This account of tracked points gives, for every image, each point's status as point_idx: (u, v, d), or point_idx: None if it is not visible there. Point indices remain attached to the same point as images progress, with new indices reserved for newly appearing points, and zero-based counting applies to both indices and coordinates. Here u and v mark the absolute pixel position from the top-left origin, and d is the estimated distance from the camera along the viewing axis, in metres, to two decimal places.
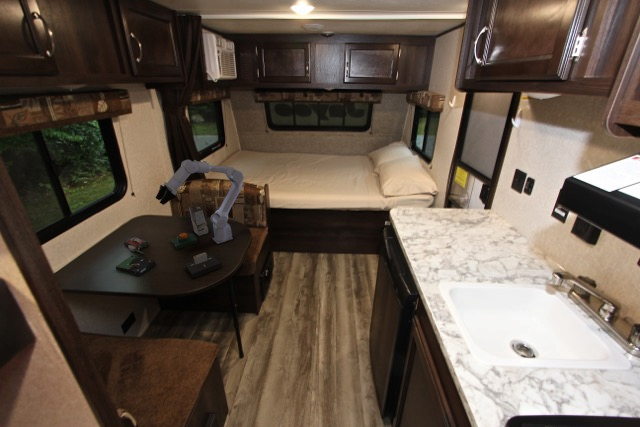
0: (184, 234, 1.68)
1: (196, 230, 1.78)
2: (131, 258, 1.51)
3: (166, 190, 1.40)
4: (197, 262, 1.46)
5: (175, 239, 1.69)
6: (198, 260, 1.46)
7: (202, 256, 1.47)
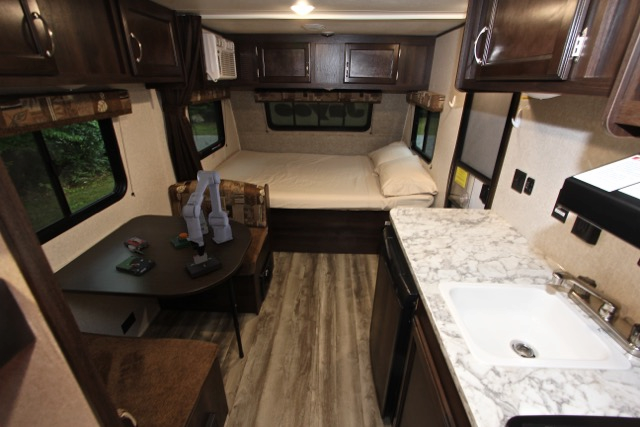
0: (184, 234, 1.68)
1: None
2: (131, 258, 1.51)
3: (194, 246, 1.38)
4: (197, 262, 1.46)
5: (175, 239, 1.69)
6: (198, 260, 1.46)
7: (202, 256, 1.47)
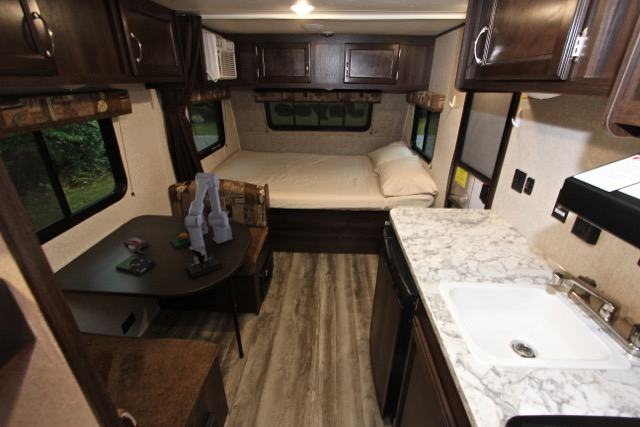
0: (184, 234, 1.68)
1: None
2: (131, 258, 1.51)
3: None
4: (197, 262, 1.46)
5: (175, 239, 1.69)
6: (198, 260, 1.46)
7: None
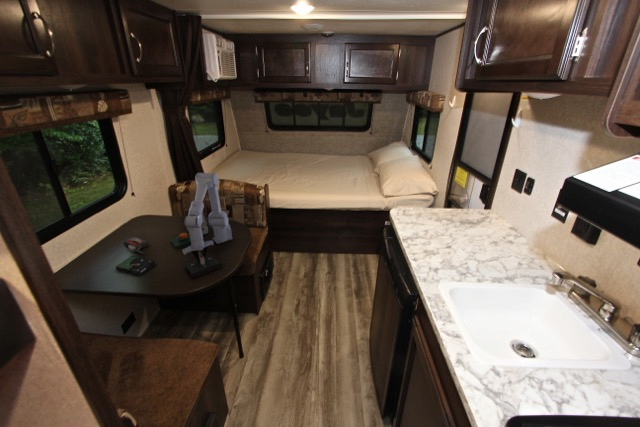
0: (184, 234, 1.68)
1: None
2: (131, 258, 1.51)
3: (205, 250, 1.45)
4: None
5: (175, 239, 1.69)
6: None
7: None
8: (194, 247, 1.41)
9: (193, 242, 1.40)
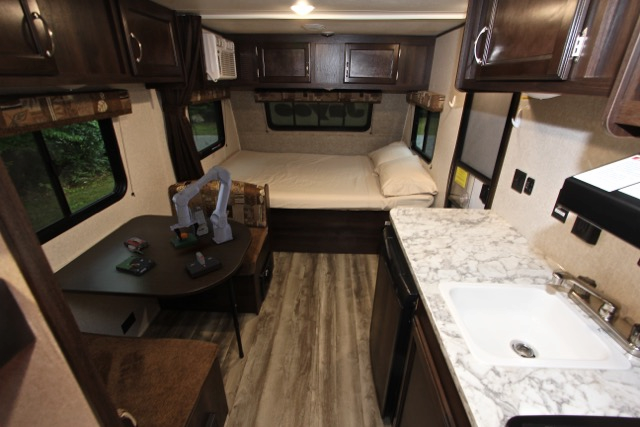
0: (184, 234, 1.68)
1: None
2: (131, 258, 1.51)
3: (197, 226, 1.57)
4: None
5: (175, 239, 1.69)
6: None
7: None
8: (181, 224, 1.52)
9: (180, 219, 1.51)
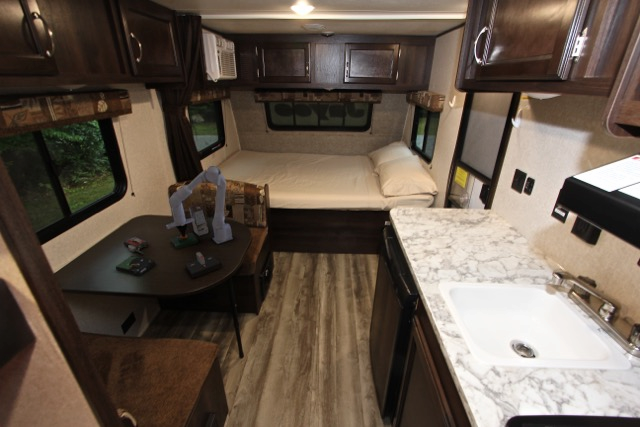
0: None
1: (196, 230, 1.78)
2: (131, 258, 1.51)
3: (185, 226, 1.65)
4: None
5: (175, 239, 1.69)
6: None
7: None
8: (177, 223, 1.62)
9: (176, 218, 1.61)
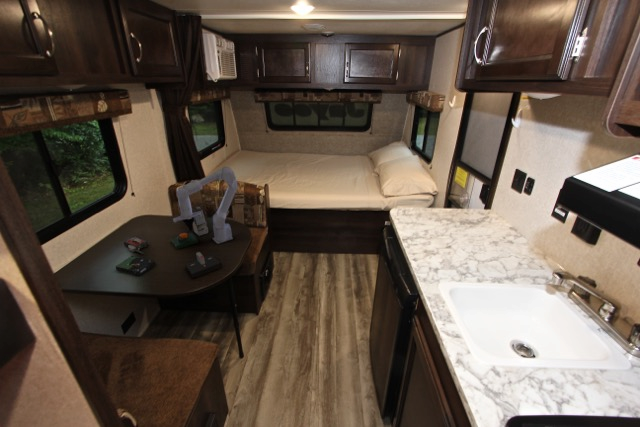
0: (184, 234, 1.68)
1: (196, 230, 1.78)
2: (131, 258, 1.51)
3: (192, 220, 1.61)
4: None
5: (175, 239, 1.69)
6: None
7: None
8: (183, 216, 1.58)
9: (182, 212, 1.57)
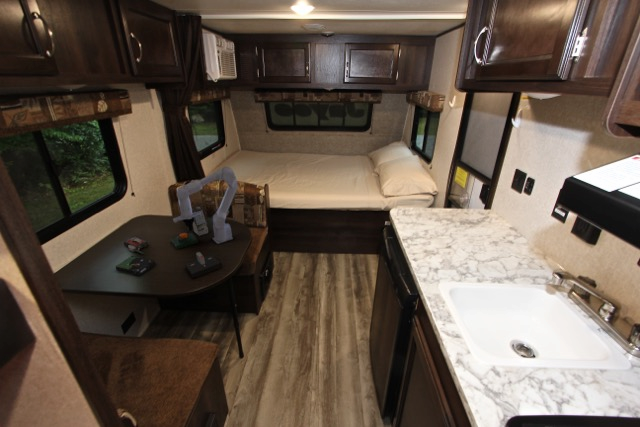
0: (184, 234, 1.68)
1: (196, 230, 1.78)
2: (131, 258, 1.51)
3: (192, 220, 1.61)
4: None
5: (175, 239, 1.69)
6: None
7: None
8: (183, 216, 1.58)
9: (182, 212, 1.57)
